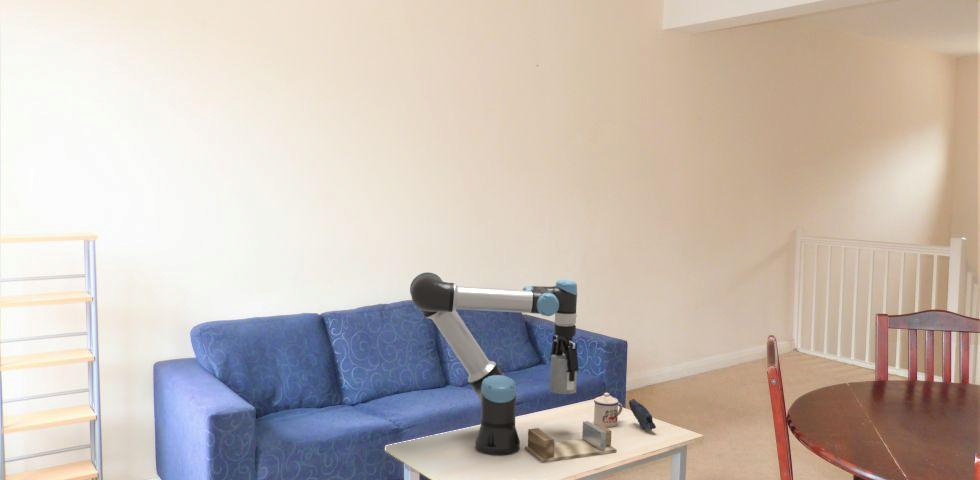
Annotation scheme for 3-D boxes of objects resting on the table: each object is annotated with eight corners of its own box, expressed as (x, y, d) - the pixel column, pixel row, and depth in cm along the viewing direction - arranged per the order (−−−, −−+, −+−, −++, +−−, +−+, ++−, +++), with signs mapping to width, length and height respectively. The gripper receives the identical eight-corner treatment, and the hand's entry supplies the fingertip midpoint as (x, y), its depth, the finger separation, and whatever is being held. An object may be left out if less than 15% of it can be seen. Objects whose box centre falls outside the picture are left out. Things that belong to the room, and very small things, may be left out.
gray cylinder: (576, 387, 282) (577, 354, 281) (576, 394, 272) (577, 360, 271) (549, 386, 283) (551, 352, 282) (549, 393, 273) (550, 359, 272)
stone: (662, 432, 281) (663, 405, 281) (651, 435, 278) (652, 408, 277) (632, 422, 292) (633, 396, 291) (621, 425, 288) (622, 399, 288)
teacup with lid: (603, 429, 284) (604, 397, 283) (588, 421, 292) (589, 391, 291) (629, 424, 290) (630, 394, 289) (613, 417, 298) (615, 387, 297)
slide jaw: (600, 450, 258) (601, 432, 258) (582, 438, 269) (582, 421, 269) (615, 447, 261) (616, 430, 260) (597, 436, 272) (597, 419, 271)
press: (542, 462, 249) (542, 441, 249) (524, 449, 261) (525, 429, 261) (616, 452, 260) (617, 431, 260) (596, 439, 272) (597, 420, 272)
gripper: (590, 329, 267) (587, 393, 268) (559, 318, 287) (557, 377, 289) (571, 330, 264) (568, 395, 266) (541, 319, 284) (539, 378, 286)
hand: (563, 385), depth 277 cm, fingers closed on gray cylinder, 9 cm apart
